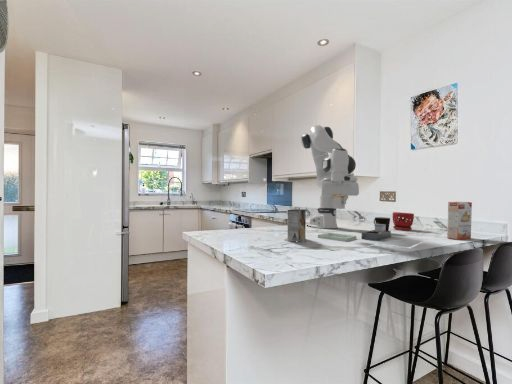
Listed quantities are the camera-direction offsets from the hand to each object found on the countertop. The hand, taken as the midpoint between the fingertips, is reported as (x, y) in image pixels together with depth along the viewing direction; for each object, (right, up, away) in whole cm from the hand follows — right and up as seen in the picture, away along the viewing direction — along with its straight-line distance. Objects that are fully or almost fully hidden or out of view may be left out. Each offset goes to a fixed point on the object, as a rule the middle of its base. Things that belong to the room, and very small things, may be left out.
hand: (339, 203), depth 147 cm
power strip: (+21, -19, +3) cm, 29 cm away
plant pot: (+58, -20, +44) cm, 75 cm away
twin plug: (+25, -19, +6) cm, 32 cm away
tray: (-1, -19, 0) cm, 19 cm away
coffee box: (-24, -19, -6) cm, 31 cm away
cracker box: (+71, -20, +8) cm, 74 cm away
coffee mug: (+34, -20, +24) cm, 46 cm away
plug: (0, -2, 0) cm, 2 cm away
